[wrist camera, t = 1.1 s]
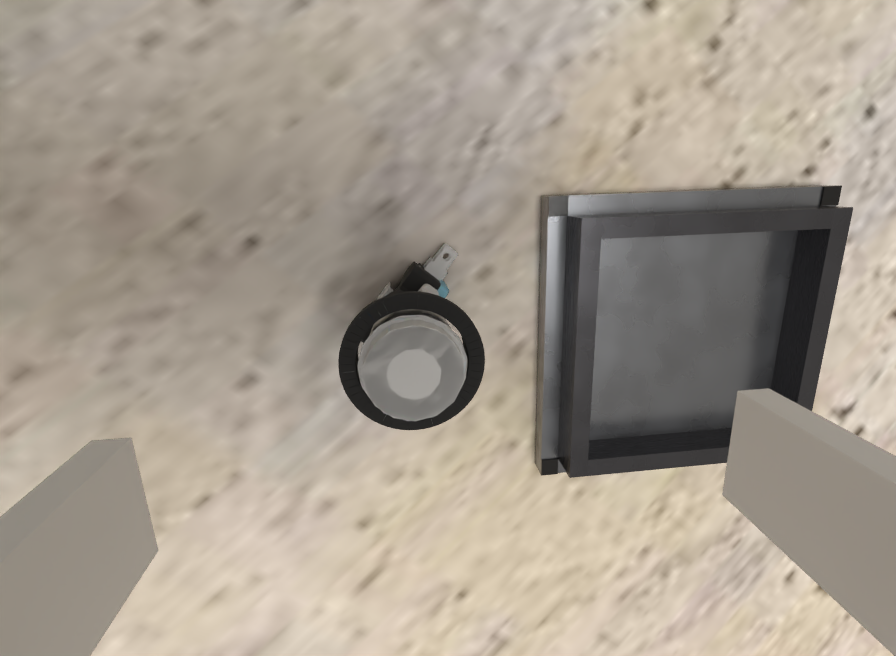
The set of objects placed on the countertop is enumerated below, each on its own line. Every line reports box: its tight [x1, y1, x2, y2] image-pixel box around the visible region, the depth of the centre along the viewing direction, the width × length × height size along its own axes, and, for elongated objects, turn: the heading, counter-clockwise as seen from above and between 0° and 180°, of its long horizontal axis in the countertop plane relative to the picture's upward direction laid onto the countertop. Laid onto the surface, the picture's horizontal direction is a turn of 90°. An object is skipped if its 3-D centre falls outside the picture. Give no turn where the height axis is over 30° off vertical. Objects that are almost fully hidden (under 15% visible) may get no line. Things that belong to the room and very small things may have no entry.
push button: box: [339, 243, 485, 430], centre depth 21 cm, size 7×5×10 cm
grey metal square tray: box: [535, 186, 853, 478], centre depth 27 cm, size 16×16×3 cm
